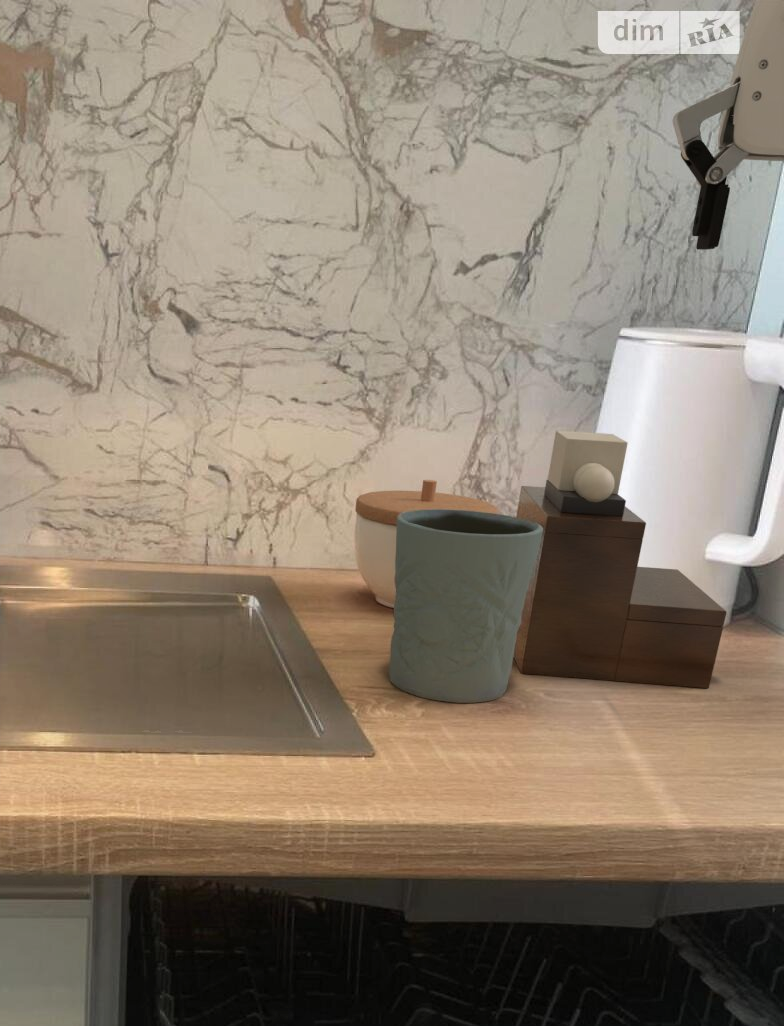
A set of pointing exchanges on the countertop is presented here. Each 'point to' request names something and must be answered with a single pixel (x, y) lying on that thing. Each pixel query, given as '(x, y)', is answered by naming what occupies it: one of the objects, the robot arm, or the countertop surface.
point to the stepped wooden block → (610, 605)
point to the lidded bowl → (381, 526)
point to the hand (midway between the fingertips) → (776, 252)
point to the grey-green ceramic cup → (459, 601)
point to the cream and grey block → (586, 473)
